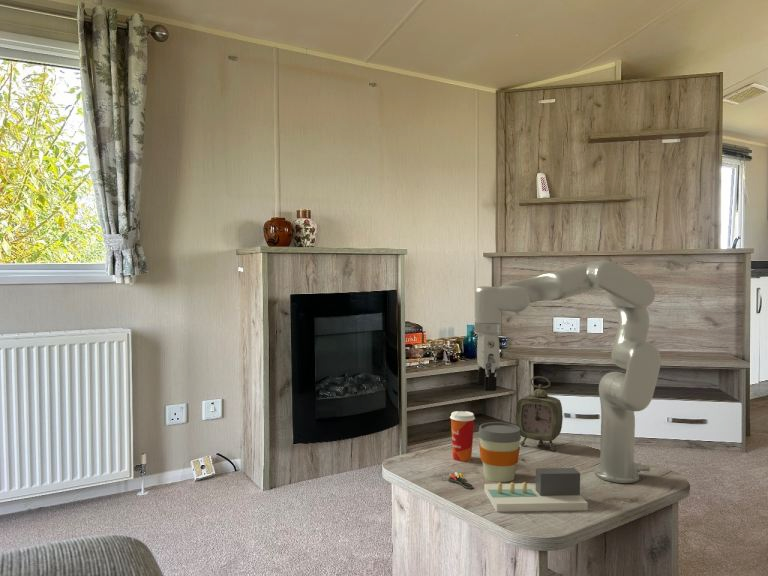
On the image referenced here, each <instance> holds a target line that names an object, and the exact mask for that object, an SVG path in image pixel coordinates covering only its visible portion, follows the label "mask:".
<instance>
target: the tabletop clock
mask: <svg viewBox="0 0 768 576" xmlns="http://www.w3.org/2000/svg"><path fill="white" fill-rule="evenodd" d="M535 379H543V380H546V381H547V382H548V385H546V386H543V385H542V384H541V383H540V384H538V385H536V384H533V380H535ZM530 385H531V386H532V387H534V388H537V389H535V390H534V391H533V392H532V394H528V395H525V396H523V397H522V398H520V399H519V400H518V402H517V406H516V414H515V423H516V424H515V425H516V426H518V427H519V428H520V434H521V438H522V437H523V438H524V439H523V440H521V441H519V446H521V447H523V446H525V445H526V443H525V442H526V441H527V439H529V440H534V441H538V445H540V446H542V445H544V442H549V444H550V448H549V449H550V450H551V451H552V452H554V451H555V450H556V447H555V446H554V444H553V441H554V440H555V439H556V438H557V437H558V436H559V435H560V434H561V431H562V427H563V421H564V420H563V417H564V414H563V406H562V402H561V400H560V399H559V398H557V397H554V396H550V395H548V392H547V391H546V390H545V389H548V388H549V387H551V381H550V380H549V379H548V378H547V377H544V376H541V375H540V376H539V375H538V376H537V375H536V376H533V377H532V378H531V380H530Z"/></svg>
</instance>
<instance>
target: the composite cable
mask: <svg viewBox="0 0 768 576" xmlns="http://www.w3.org/2000/svg"><path fill="white" fill-rule="evenodd" d="M449 476H450V477H448V478H447V481H448V482H450V483H453V484H457V485H459V486H461V487H463V488H464V489H467V490H473V487H474V486H473V485H472V484H471V483H469V482H465V481H463V477H464V475H463V474H462V473H461V472H457V471H454V474H453V473H449Z"/></svg>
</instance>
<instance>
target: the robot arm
mask: <svg viewBox="0 0 768 576" xmlns="http://www.w3.org/2000/svg"><path fill="white" fill-rule="evenodd" d="M597 290H598V291H600V290H601V291H605V292H607V297H608V299H609V301H610V302H611V303H612V304H613V305H614V307H615V308H616V312H617V314H618V325H617V329H616V333H615V337H614V342H613V345H612V350H611V356H610V357H611V361H612V362H613V363H614V365H616V367H619V368H620V369H624V370H626V372H625V373H623V372H620V371H611V372H608V373H606V374H604V375H603V376H602V377H601V379H600V381H599V383H598V395H599V401H600V413H601V415H600V416H601V417H600V452H599V453H600V455H599V456H600V457H599V459H600V461H599V466H597V467H595V468H594V475H595V476H596V477H598V478H599V479H601V480H605V481H608V482H612V483H616V484H617V483H618V484H630V483H631V484H632V483H637V482H638V481H639V480H640V474H639V473H640V472H650V471H651V467H650V465H649V464H642V463H641V462H635V438H636V437H635V435H636V434H635V429H636V418H635V416H636V415H635V412H642V411H643V410H645V409H646V408H648V406H649V405H650V403H651V402H652V401H653V400H652V399H653V397H654V393H655V389H656V385H657V381H658V378H659V373H660V369H661V363H662V359H661V354H660V351H659V349H658V348H657V347H656V346H655V345H654V344H652V343H651V342H649V341H647V339H648V334H649V333H648V332H649V327H650V316H649V313H648V309H647V307H649V306H650V305H652V304H653V302H654V301H655V297H656V291H655V287H653V284H651V282H650V281H648V280H646V278H644V277H641V276H640V275H638V274H636V273H634V272H633V271H631V270H628V269H626V268H625V267H624V266H621V265H619V264H617V263H615V262H613V261H610V260H594V261H588V262H585V263H580V264H576V265H574V266H570V267H567V268H563V269H560V270H555V271H552V272H548V273H544V274H541V275H538V276H533V277H529V278H525V279H520V280H517V281H513V282H510V283H506V284H503V285H501V286H499V287H497V286H484V285H483V286H478V287H477V288H476V289H475V290H474V334H475V335H477V345H476V347H477V348H476V357H477V358H476V362H477V364H478V367H477V369H478V370H477V384H479V385H484V391H486V392H497V370H498V369H500V368H501V363H500V362H501V359H500V357H501V356H500V340H499V339H500V338H499V336H500V335H502V334H501V330H502V329H501V326H502V325H501V324H502V323H501V321H502V320H501V319H502V311H504V312H505V311H506V312H512V313H519V312H523V311H525V310H526V309H527V308H528V307H529V306H530V304H531V303H536V302H547V301H548V302H550V301H560V300H565V299H567V298H568V299H569V298H571V297H574V296H578V295H581V294H586V293H589V292H592V291H597Z"/></svg>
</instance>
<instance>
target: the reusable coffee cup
mask: <svg viewBox="0 0 768 576" xmlns="http://www.w3.org/2000/svg"><path fill="white" fill-rule="evenodd" d="M478 437H479V442H480V443H479V444H478V447H479V455H480V456H479V457H480V461H481V462H482V470H483V477H484V478H485V479H486V480H489V481H491V482H495V483H499V482H500V483H508V482H512V481H514V480H515V475H516V468H517V467H516V466H517V464H518V463H519V457H520V455H519V454H520V449H521V448H520V442H521V441H520V440H521V439H522V436H521V434H520V428H519V427H518V426H517V425H516V424H512V423H509V422H508V423H507V422H500V421H499V422H498V421H497V422H496V421H491V422H485V423H481V424H480V425H479V429H478Z"/></svg>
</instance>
